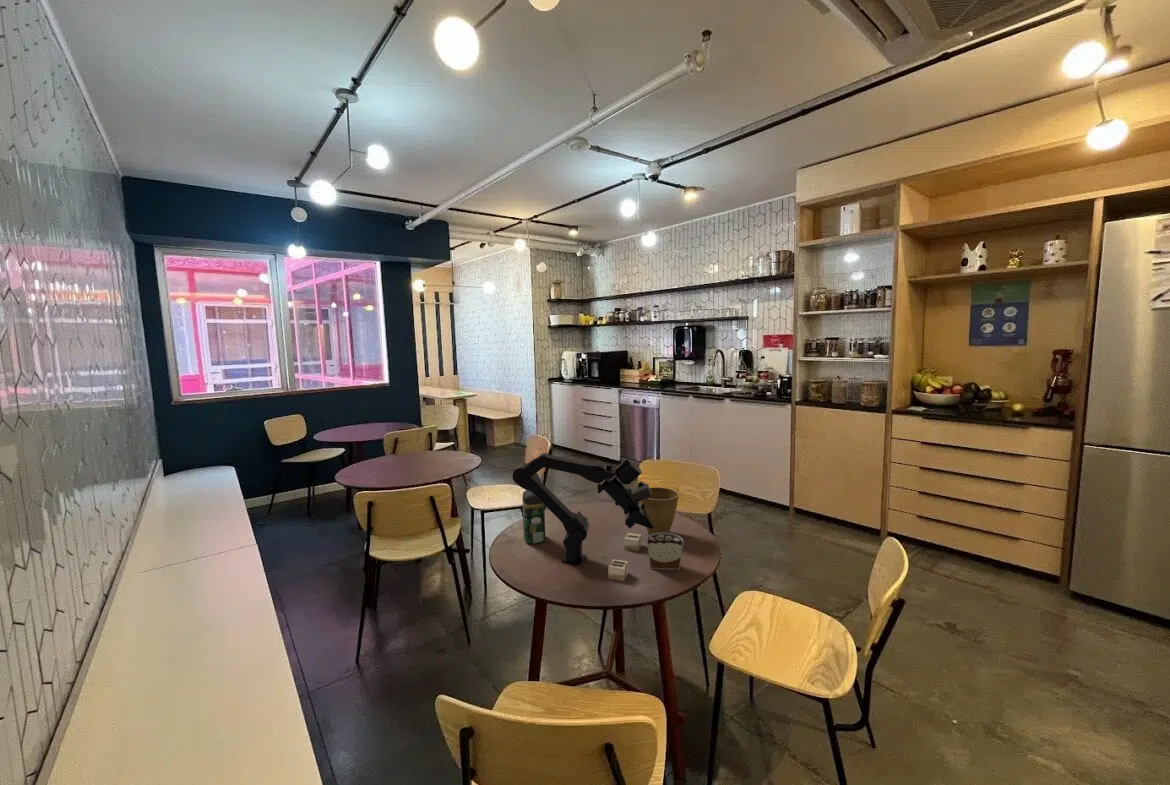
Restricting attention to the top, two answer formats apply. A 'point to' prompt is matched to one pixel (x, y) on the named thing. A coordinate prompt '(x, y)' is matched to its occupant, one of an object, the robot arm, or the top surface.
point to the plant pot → (661, 509)
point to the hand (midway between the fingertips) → (652, 527)
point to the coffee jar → (533, 518)
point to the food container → (665, 550)
